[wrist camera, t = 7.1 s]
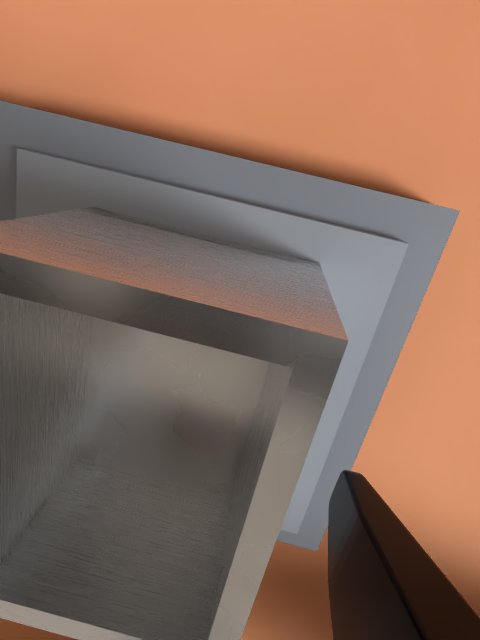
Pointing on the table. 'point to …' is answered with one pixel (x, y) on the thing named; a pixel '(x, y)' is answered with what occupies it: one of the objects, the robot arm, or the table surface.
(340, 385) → the stand
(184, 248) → the box
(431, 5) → the table surface
